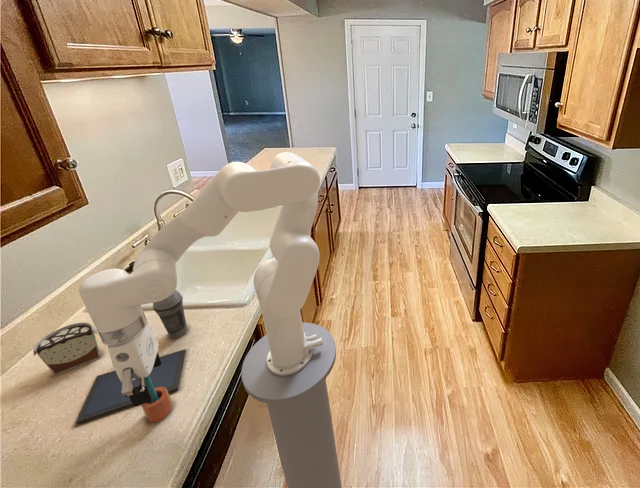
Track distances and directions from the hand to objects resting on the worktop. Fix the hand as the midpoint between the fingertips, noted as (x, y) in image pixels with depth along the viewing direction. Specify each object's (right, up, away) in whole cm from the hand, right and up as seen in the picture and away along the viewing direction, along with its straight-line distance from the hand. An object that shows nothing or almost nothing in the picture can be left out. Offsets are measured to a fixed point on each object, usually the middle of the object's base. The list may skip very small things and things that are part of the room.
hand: (148, 383), depth 74 cm
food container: (-33, -4, +18) cm, 38 cm away
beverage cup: (-11, 0, +26) cm, 28 cm away
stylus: (0, -8, +3) cm, 9 cm away
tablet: (-11, -6, +10) cm, 16 cm away
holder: (0, -9, +3) cm, 9 cm away
